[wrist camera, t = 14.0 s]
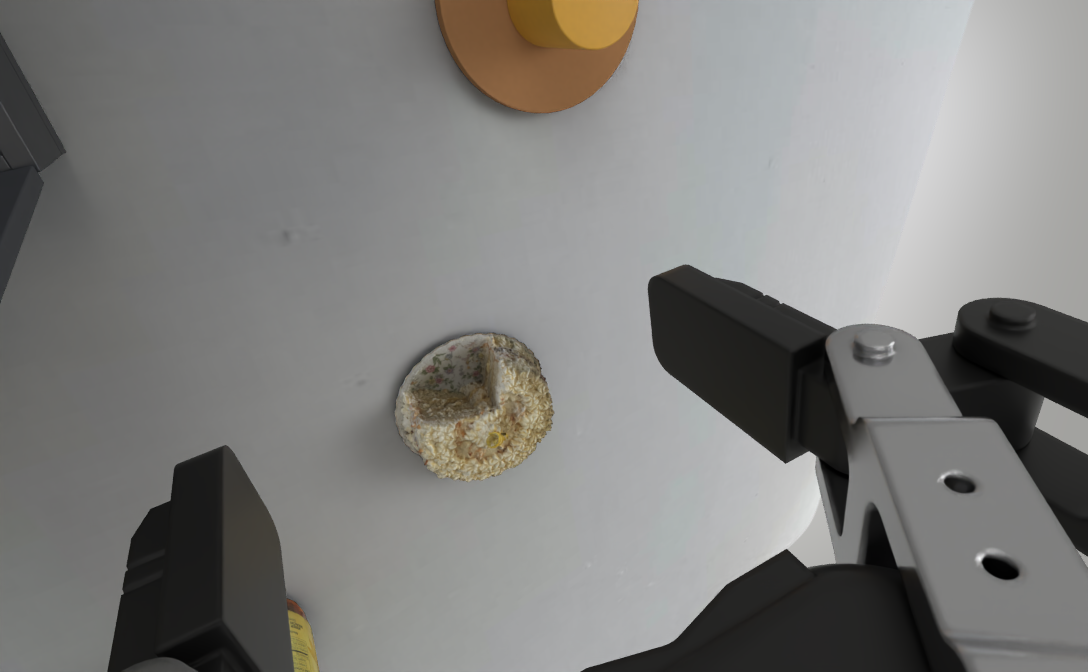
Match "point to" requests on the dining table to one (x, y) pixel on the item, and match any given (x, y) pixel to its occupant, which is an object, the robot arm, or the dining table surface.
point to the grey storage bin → (23, 121)
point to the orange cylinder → (572, 22)
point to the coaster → (522, 58)
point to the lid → (15, 214)
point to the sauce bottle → (301, 640)
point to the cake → (474, 407)
